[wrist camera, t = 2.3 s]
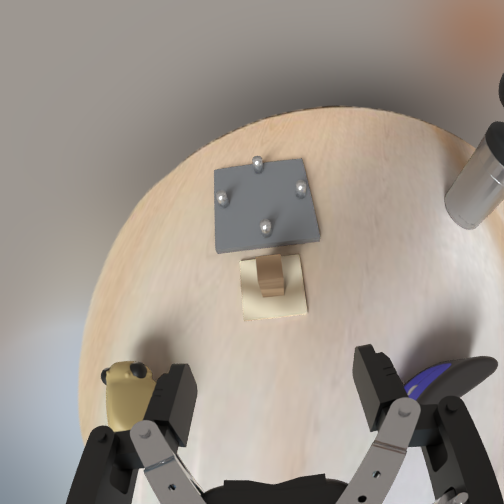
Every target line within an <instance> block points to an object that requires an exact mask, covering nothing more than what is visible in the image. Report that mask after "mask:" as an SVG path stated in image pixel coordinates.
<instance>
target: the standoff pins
mask: <svg viewBox="0 0 504 504" xmlns="http://www.w3.org/2000/svg"><path fill="white" fill-rule="evenodd" d="M252 161H253V166H254V172H255V173H256V174H261V173H262V172H263V163H262V158H261V157H260V156H255V157H253V159H252ZM305 195H306V182H305V181H303V180H299V181H297V182H296V197H297V198H298V199H303V198H305ZM216 197H217V200H218V202H219V205H220V207H221V208H222V209H225V208H227V207H228V206H229V201H228V198H227V195H226V192H225V191H223V190H220V191H218V192H217V193H216ZM260 229H261V234H262V236H263V237H264V238H269V237H270V236H271V235H272V230H271V222H270V221H269V220H268V219H263V220H261V221H260Z"/></svg>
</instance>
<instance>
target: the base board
mask: <svg viewBox="0 0 504 504" xmlns="http://www.w3.org/2000/svg"><path fill="white" fill-rule="evenodd" d="M299 180H303V181H305V182H306V195H305V198H303V199H298V198H297V197H296V182H297V181H299ZM220 190H223V191H225V192H226V195H227V198H228V201H229V206H228V207H227V208H225V209H222V208H221V207H220V205H219V202H218V200H217V197H216V193H217V192H218V191H220ZM214 203H215V248H216V252H217V253H218V254H220V253H228V252H236V251H244V250H252V249H261V248H269V247H277V246H285V245H293V244H302V243H310V242H318V241H319V240H320V234H319V229H318V224H317V219H316V215H315V210H314V206H313V202H312V197H311V193H310V189H309V185H308V181H307V176H306V172H305V169H304V165H303V161H302V159H292V160H283V161H274V162H266V163H263V172H262V173H261V174H256V173H255V172H254V166H253V164H250V165H243V166H236V167H230V168H223V169H217V170H214ZM263 219H268V220H269V221H270V222H271V230H272V235H271V236H270V237H269V238H264V237H263V236H262V234H261V229H260V221H261V220H263Z"/></svg>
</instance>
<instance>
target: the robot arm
mask: <svg viewBox="0 0 504 504" xmlns="http://www.w3.org/2000/svg"><path fill="white" fill-rule="evenodd" d="M499 98H500V101H501V103H502V105H503V107H504V73H503V75H502V78H501V80H500V83H499ZM503 200H504V122H498V121H497V122H493V123H492V124H491V125H490V127H489V128H488V130H487V132H486V134H485V135H484V137H483V139H482V140H481V142H480V144H479V145H478V147H477V149H476V150H475V152H474V154H473V155H472V157H471V158H470V159H469V161H468V162H467V164H466V165H465V167H464V168H463V170H462V171H461V173H460V174H459V176H458V177H457V179H456V180H455V182H454V183H453V185H452V186H451V188H450V189H449V191H448V192H447V194H446V196H445V205H446V208H447V211H448V213H449V215H450V216H451V218H452V219H453V220H454V221H455V222H456V223H457V224H458V225H459V226H461V227H463V228H465V229H474V228H476V227H477V226H478V225H479V224H480V223H481V222H482V221H483V220H484V219H485V218H486V217H487V216H488V215H489V214H490V213H491V212H492V211H493V210H494V209H495V208H496V207H497V206H498V205H499V204H500V203H501V202H502V201H503ZM353 379H354V382H355V385H356V388H357V391H358V394H359V397H360V400H361V403H362V406H363V410H364V413H365V416H366V419H367V422H368V426H369V429H370V432H373V431H378V434H377V436H376V438H375V440H374V442H373V443H372V445H371V447H370V449H369V450H368V452H367V454H366V456H365V458H364V459H363V461H362V463H361V465H360V466H359V468H358V470H357V472H356V473H355V475H354V476H353V478H352V480H351V481H350V483H349V484H347V483H345V482H342V481H339V480H335V479H326V478H325V474H318V475H312V476H304V477H298V478H295V479H292V480H289V481H286V482H282V483H279V484H274V485H273V484H266V483H260V482H254V481H249V480H224V486H219V487H216V488H213V489H210V490H208V491H206V492H204V490H203V489H202V488H201V487H200V485H199V484H198V483H197V482H196V480H195V479H194V478H193V476H192V475H191V473H190V472H189V470H188V469H187V467H186V466H185V464H184V463H183V461H182V460H181V458H180V457H179V455H178V454H177V450H178V447H186V445H187V440H188V435H189V431H190V426H191V421H192V417H193V412H194V407H195V403H196V398H197V384H196V382H195V379H194V377H193V374H192V372H191V369H190V366H189V365H188V364H172V366H171V368H170V371H169V374H163V375H162V376H161V377H160V378H159V379H158V380H157V383H156V385H155V388H154V391H153V393H152V397H151V399H150V401H149V404H148V407H147V410H146V412H145V415H144V418H143V420H142V421H139V422H137V423H136V424H134V425H133V427H132V428H131V430H125V431H117V432H114V431H113V430H112V429H111V428H110V427H108V426H99V427H96V428H95V429H93V430H92V432H91V433H90V435H89V438H88V440H87V443H86V446H85V448H84V451H83V454H82V457H81V459H80V462H79V465H78V468H77V471H76V474H75V477H74V479H73V482H72V486H71V489H70V492H69V495H68V498H67V502H66V504H131V503H132V498H133V493H134V488H135V483H136V479H137V474H138V470H139V468H145V470H144V474H145V476H146V478H147V480H148V482H149V483H150V485H151V487H152V489H153V491H154V493H155V494H156V496H157V498H158V500H159V501H160V503H161V504H382V503H383V501H384V499H385V497H386V495H387V493H388V492H389V490H390V488H391V486H392V484H393V482H394V480H395V478H396V476H397V474H398V471H399V469H400V467H401V465H402V463H403V460H404V458H405V456H406V453H407V451H406V450H407V447H419V446H421V449H422V452H423V455H424V458H425V462H426V465H427V469H428V473H429V476H430V480H431V484H432V488H433V492H434V496H435V500H436V501H435V502H434V503H432V504H504V502H503V498H502V495H501V491H500V488H499V485H498V482H497V479H496V476H495V473H494V471H493V468H492V465H491V462H490V460H489V457H488V455H487V452H486V450H485V447H484V445H483V443H482V440H481V438H480V436H479V433H478V431H477V429H476V427H475V424H474V422H473V420H472V418H471V416H470V414H469V412H468V410H467V408H466V406H465V404H464V402H463V401H462V399H460V398H459V397H457V396H446V397H444V398H442V399H441V400H440V402H439V404H428V405H422V404H418V402H417V401H415V400H414V399H412V398H409V396H408V395H407V392H406V390H405V388H404V386H403V384H402V382H401V380H400V378H399V376H398V374H397V372H396V370H395V368H394V367H393V364H392V362H391V360H390V358H389V357H387V356H386V355H385V354H384V353H383V352H380V353H375V351H374V348H373V346H372V345H371V344H368V345H363V346H358V347H356V348H355V353H354V362H353Z"/></svg>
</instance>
